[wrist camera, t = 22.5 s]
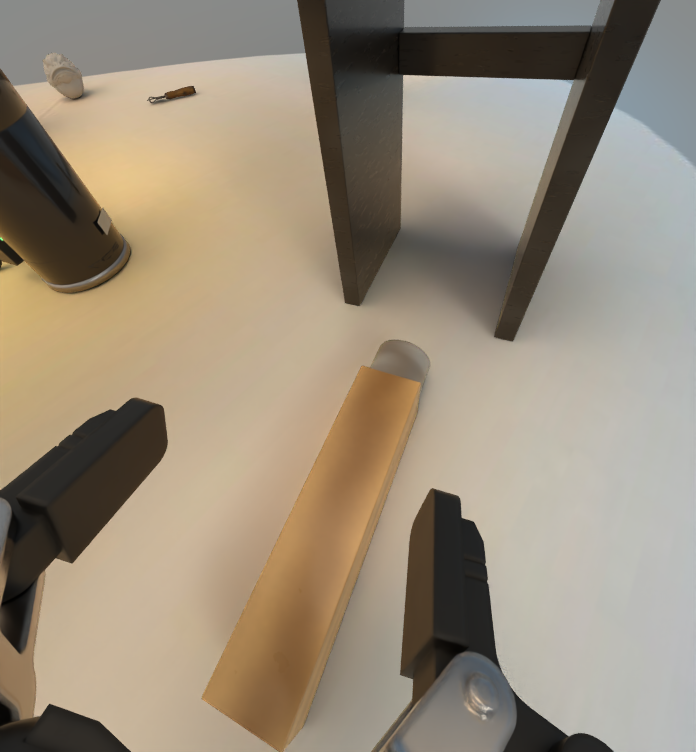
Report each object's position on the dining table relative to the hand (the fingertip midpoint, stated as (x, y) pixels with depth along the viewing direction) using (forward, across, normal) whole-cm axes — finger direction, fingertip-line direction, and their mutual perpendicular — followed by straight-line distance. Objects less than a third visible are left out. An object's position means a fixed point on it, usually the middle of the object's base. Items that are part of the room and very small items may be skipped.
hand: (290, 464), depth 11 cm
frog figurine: (+71, +70, 0) cm, 100 cm away
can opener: (+68, +47, -4) cm, 83 cm away
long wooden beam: (+8, -3, +12) cm, 15 cm away
